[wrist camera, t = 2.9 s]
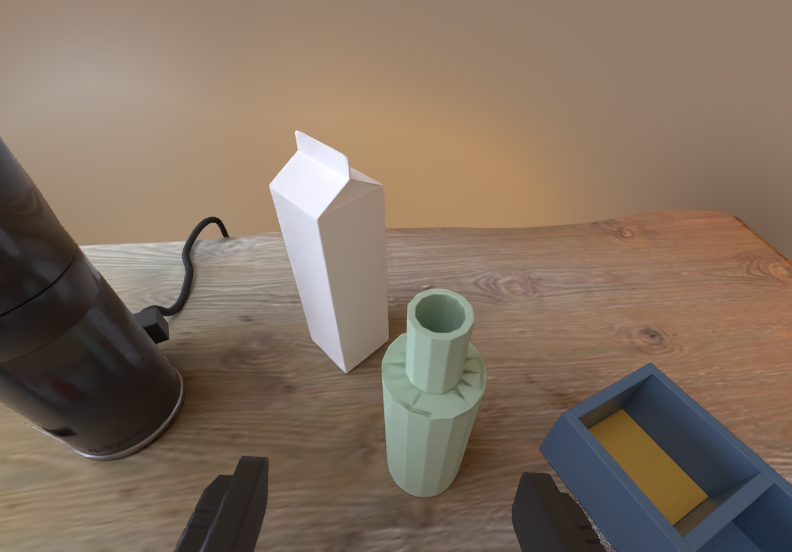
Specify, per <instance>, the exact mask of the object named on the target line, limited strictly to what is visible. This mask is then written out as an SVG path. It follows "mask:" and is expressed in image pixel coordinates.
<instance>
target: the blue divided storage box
mask: <svg viewBox="0 0 792 552" xmlns="http://www.w3.org/2000/svg"><path fill="white" fill-rule="evenodd" d="M539 449H540V451H541V452H542V453H543V455H544V456H545V457H546V459H547V460H548V461H549V463H550V464H551V465H552V467H553V468H554V469H555V471H556V472H557V473H558V475H559V476H560V477H561V479H562V480H563V481H564V483H565V484H566V485H567V487H568V488H569V489H570V491H571V492H572V493H573V495H574V496H575V497H576V498H577V500H578V501H579V502H580V504H581V505H582V506H583V508H584V509H585V510H586V512H587V513H588V514H589V516H590V517H591V518H592V520H593V521H594V522H595V524H596V525H597V526H598V528H599V529H600V530H601V532H602V533H603V534H604V536H605V537H606V538H607V540H608V541H609V542H610V544H611V545H612V546H613V548H614V549H615V550H616V552H792V485H791V484H790V483H789V482H788V481H787V480H785V479H784V478H783V477H782V476H781V475H780V474H778V473H777V472H776V471H775V470H774V469H773V468H772V467H770V466H769V465H768V464H767V463H766V462H765V461H764V460H762V459H761V458H760V457H759V456H758V455H757V454H755V453H754V452H753V451H752V450H751V449H750V448H749V447H747V446H746V445H745V444H744V443H743V442H742V441H741V440H739V439H738V438H737V437H736V436H735V435H734V434H732V433H731V432H730V431H729V430H728V429H727V428H726V427H724V426H723V425H722V424H721V423H720V422H719V421H718V420H716V419H715V418H714V417H713V416H712V415H711V414H709V413H708V412H707V411H706V410H705V409H704V408H703V407H701V406H700V405H699V404H698V403H697V402H696V401H695V400H693V399H692V398H691V397H690V396H689V395H688V394H686V393H685V392H684V391H683V390H682V389H681V388H680V387H678V386H677V385H676V384H675V383H674V382H673V381H672V380H670V379H669V378H668V377H667V376H666V375H665V374H663V373H662V372H661V371H660V370H659V369H658V368H657V367H655V366H654V365H653V364H652V363H649V364H647V365H645V366H643V367H642V368H640V369H638V370H636V371H635V372H633V373H631V374H630V375H628V376H626V377H624V378H623V379H621V380H619V381H617V382H616V383H614V384H612V385H611V386H609V387H607V388H605V389H604V390H602V391H600V392H599V393H597V394H595V395H593V396H592V397H590V398H588V399H586V400H585V401H583V402H581V403H580V404H578V405H576V406H574V407H573V408H571V409H569V410H568V411H566V412H564V413H562V415H561V416H560V418H559V419H558V421H557V422H556V424H555V425H554V427H553V428H552V430H551V431H550V432H549V434H548V435H547V437H546V438H545V440H544V441H543V443H542V444H541V446H540V447H539Z"/></svg>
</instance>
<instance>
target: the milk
mask: <svg viewBox="0 0 792 552" xmlns="http://www.w3.org/2000/svg"><path fill="white" fill-rule="evenodd" d="M295 135H296V141H297V146H298V151H297V152H296V153H295V154H294V156H293V157H292V158H291V159H290V160H289V162H288V163H287V164H286V165H285V166H284V168H283V169H282V170H281V171H280V172H279V174H278V175H277V176H276V177H275V178H274V180H273V181H272V182H271V183H270V185H269V187H270V190H271V194H272V198H273V201H274V205H275V209H276V212H277V216H278V220H279V223H280V227H281V230H282V234H283V238H284V241H285V245H286V248H287V252H288V256H289V259H290V263H291V266H292V270H293V274H294V277H295V281H296V284H297V288H298V292H299V295H300V299H301V302H302V306H303V310H304V313H305V317H306V320H307V324H308V328H309V331H310V335H311V338H312V340H313V341H314V342H315V343H316V344H317V345H318V346H319V347H320V348H321V349H322V350H323V351H324V352H325V353H326V354H327V355H328V356H329V357H330V358H331V359H332V360H333V361H334V362H335V363H336V364H337V365H338V366H339V367H340V368H341V369H342V370H343V371H344V372H345V373H346V374H347V373H348V372H349V371H351V370H352V369H353V368H354V367H356V366H357V365H358V364H359V363H361V362H362V361H363V360H364V359H366V358H367V357H368V356H369V355H371V354H372V353H373V352H374V351H376V350H377V349H378V348H379V347H381V346H382V345H383V344H384V343H386V342H387V341H388V340H389V327H388V296H387V265H386V234H385V206H384V205H385V203H384V185H382V184H380V183H379V182H377V181H375V180H373V179H371V178H370V177H368V176H366V175H364V174H362V173H360V172H358V171H357V170H355V169H353V168H351V167H350V166H349V161H348V158H347V157H346V155H344V154H342V153H340V152H338V151H336V150H334V149H332V148H331V147H329V146H327V145H325V144H323V143H321V142H319V141H317V140H315V139H313V138H311V137H310V136H308V135H306V134H304V133H302V132H300V131H298V130H297V131H296V132H295Z"/></svg>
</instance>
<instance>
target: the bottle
mask: <svg viewBox="0 0 792 552" xmlns="http://www.w3.org/2000/svg"><path fill="white" fill-rule="evenodd" d="M473 325H474V313H473V308H472V306H471V305H470V303H469V302H468V301H467V300H466V299H465V298H464V296H462V295H460V294H458V293H456V292H453V291H451V290H449V289H429V290H426V291H423V292H421V293H418V294H417V295H416V296H415V297H414V298H413V299H412V300H411V302H410V303H409V304H408V310H407V332H406V333H404V334H401V335H400V336H399V337H398V338H397V339H396V340H395V341H394V342H393V343H392V344H391V345H390V346H389V347H388V348H387V351H386V353H385V356H384V358H383V361H382V364H381V365H382V383H383V400H384V416H385V432H386V449H387V465H388V468H389V471H390V474H391V476H392V478H393V480H394V481H395V482H396V484H397V485H398V486H399V487H400V488H401V489H402V490H404V491H405V492H407V493H409V494H411V495H413V496H417V497H433V496H436V495H438V494H440V493H442V492H444V491H445V490H446V489H447V488H448V487H449V486H450V485H451V484H452V483H453V481H454V479H455V477H456V476H457V474H458V471H459V467H460V464H461V461H462V458H463V455H464V452H465V449H466V446H467V443H468V440H469V437H470V434H471V431H472V428H473V425H474V422H475V418H476V415H477V412H478V409H479V406H480V403H481V400H482V397H483V394H484V390H485V384H486V379H487V371H486V368H485V364H484V361H483V357H482V355H481V354H480V353H479V351H478V350H477V349H476V348H475V346H474V345H473V344H472V343H471V342H470V338H471V334H472V329H473Z"/></svg>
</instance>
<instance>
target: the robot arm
mask: <svg viewBox="0 0 792 552" xmlns="http://www.w3.org/2000/svg"><path fill="white" fill-rule="evenodd" d="M209 223H216V224H217V225H218V227H219V228H220V230H221V233H222V235H223V237H224V238H227V237H229V235H228V233H227V230H226V228H225V226H224V224H223V222H222V221H221V220H220V219H219V218H216V217H209V218H206V219H204V220H203V221H201V222H200V223H199V224H198V225H197V226H196V227H195V229H194V230H193V231H192V233H191V235H190V236H189V238H188V240H187V242H186V244H185V246H184V248H183V252H182V259H183V263H184V266H185V271H186V273H185V278H184V283H183V287H182V290H181V293H180V296H179V298H178V300H177V301H176V303H175V304H174V305H173V306H172V307H170V308H168V309H167V308H164V307H161V306H157V305H153V306H149V307H147V308H145V309H143V310H141V311H140V312H139V313H136V314H132V313H131V312H130V311H129V309H128V308H127V307H126V306H125V304H124V303H123V302H122V300H121V299H120V298H119V297H118V295H117V294H116V293H115V292H114V290H113V289H112V288H111V287H110V285H109V284H108V283H107V281H106V280H105V279H104V278H103V276H102V275H101V274H100V273H99V271H97V269H96V268H95V267H94V265H93V264H92V263H91V262H90V260H89V259H88V258H87V256H86V255H85V254H84V253H83V251H82V250H81V249H80V248H79V246H78V245H77V244H76V243H75V241H74V240H73V239H72V237H71V236H70V235H69V234H68V232H67V231H66V230H65V229H64V227H63V226H62V225H61V223H60V222H59V220H58V219H57V217H56V216H55V214H54V213H53V211H52V209H51V208H50V206H49V205H48V203H47V201H46V200H45V198H44V197H43V195H42V193H41V192H40V191H39V189H38V188H37V186H36V185H35V183H34V182H33V180H32V179H31V178H30V176H29V175H28V174H27V173H26V171H25V170H24V169H23V167H22V166H21V165H20V163H19V162H18V161H17V159H16V158H15V157H14V155H13V154H12V153H11V152H10V150H9V149H8V147H7V146H6V144H5V143H4V141H3V140H2V139H1V137H0V402H1V403H3V404H4V405H6V406H7V407H9V408H11V409H12V410H14V411H15V412H17V413H19V414H20V415H22V416H23V417H25V418H27V419H28V420H30V421H31V422H33V423H35V424H36V425H38V426H39V427H41V428H42V429H44V430H46V431H47V432H49V433H50V434H52V435H53V436H52V435H50V434H48V433H46V432H44V431H42V430H39V429H37V428H35V427H33V426H31V425H29V424H27V423H26V424H27V425H29V426H31V427H32V428H34V429H36V430H38V431H40V432H42V433H44V434H46V435H48V436H50V437H53V438H55V439H57V440H59V441H61V442H63V443H65V444H68V445H69V446H71V447H72V448H73V450H75V451H76V452H77V453H79V454H80V455H82V456H84V457H86V458H89V459H92V460H99V461H106V460H113V459H118V458H121V457H125V456H127V455H130V454H132V453H134V452H136V451H138V450H140V449H142V448H144V447H145V446H147V445H148V444H150V443H151V442H153V441H154V440H155V439H156V438H158V437H159V436H160V435H161V434H162V433H163V432H164V431H165V430H166V429H167V428H168V427H169V426H170V424H171V423H172V422H173V421H174V419H175V418H176V416H177V415H178V413H179V411H180V409H181V407H182V404H183V401H184V398H185V382H184V379H183V377H182V375H181V374H180V372H179V371H178V370H177V369H176V368H175V367H174V366H173V365H172V364H171V363H170V362H169V360H168V359H167V358H166V357H165V355H164V354H163V353H162V351H161V350H160V349H159V347H158V346H157V345H156V344H158V343H160V342H163V341H166V340H169V329H168V323H167V321H166V320H165V319H164V317H163V316H171V315H173V314H175V313H177V312H178V311H179V310H180V309H181V308H182V306H183V305H184V303H185V301H186V299H187V297H188V294H189V291H190V286H191V282H192V277H193V267H192V263H191V260H190V256H189V253H190V250H191V248H192V246H193V243H194V242H195V240H196V238H197V236H198V235H199V233H200V232H201V231H202V229H203V228H204V227H205V226H207V225H208V224H209ZM162 315H163V316H162ZM54 436H55V437H54ZM267 498H268V457H252V456H242V457H241V459H240V461H239V463H238V465H237V467H236V470H235V472H234V474H233V475H219V476H218V477H217V478H216V479H215V480H214V481H213V482H212V483H211V484H210V485H209V486H208V487H207V488H206V489H205V490H204V491H203V493H202V495H201V497H200V500H199V502H198V504H197V506H196V508H195V511H194V512H193V514H192V516H191V518H190V520H189V522H188V524H187V527H186V528H185V530H184V532H183V534H182V536H181V538H180V540H179V542H178V544H177V546H176V548H175V550H174V552H254V549H255V545H256V542H257V539H258V535H259V532H260V529H261V525H262V522H263V519H264V515H265V510H266V505H267ZM512 522H513V527H514V530H515V533H516V536H517V538H518V541H519V544H520V547H521V549H522V552H606V550H605V548H604V546H603V545H602V544H601V543H600V539H599V538H598V536H597V534H596V532H595V531H594V529H592V526H591V524H590V522H589V520H588V519H587V517H586V515H585V513H584V512H583V510H582V508H581V507H580V506H579V505H578V504H577V503H576V502H575V501H574V500H573V499H572V498H571V497H570V496H569V495H568V494H567V493H560V491H559V490H558V488H557V486H556V484H555V482H554V480H553V479H552V477H551V476H550V475H549V474H547V473H531V472H524V473H523V474H522V476H521V479H520V483H519V486H518V489H517V493H516V496H515V499H514V503H513V506H512Z"/></svg>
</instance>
